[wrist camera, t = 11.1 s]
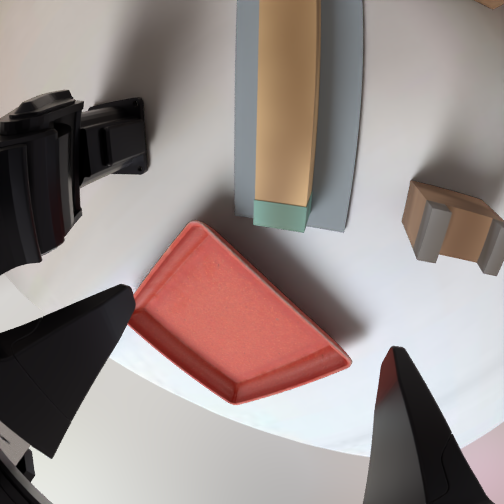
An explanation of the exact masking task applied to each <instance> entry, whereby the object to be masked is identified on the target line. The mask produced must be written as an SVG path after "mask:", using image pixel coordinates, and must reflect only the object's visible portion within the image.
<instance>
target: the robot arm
mask: <svg viewBox="0 0 504 504" xmlns="http://www.w3.org/2000/svg"><path fill="white" fill-rule="evenodd" d="M136 102H138V104H137V105H136ZM83 106H84V101H76V100H75V99H73V97H72V96H71V93H70V91H69V90H60V91H55V92H49V93H45V94H42V95H39V96H36V97H34V98H31V99H29V100H27V101H24V102H22V103H21V105H20V106H19V107H18V108H16V109H14V110H13V111H11V112H10V113H8V114H6V115H5V116H3V117H2V118H0V275H1V274H3V273H5V272H7V271H9V270H11V269H13V268H15V267H18V266H21V265H25V264H30V263H40V262H41V261H42V257H41V256H42V255H45V254H47V253H49V252H50V251H52V250H54V249H56V248H57V247H58V246H60V245H61V244H62V243H63V242H64V240H65V239H64V237H65V236H66V234H67V233H68V232H69V231H70V229H71V228H72V227H73V225H74V224H75V223H76V222H77V221H78V219H79V218H80V217H81V216H82V208H81V207H80V188H82V187H84V186H86V185H88V184H90V183H92V182H94V181H96V180H98V179H100V178H102V177H105V176H107V175H109V174H139V175H141V174H144V173H145V172H146V171H147V158H146V145H145V131H144V111H143V100H142V98H140V97H137V98H130V99H125V100H120V101H115V102H110V103H106V104H101V105H97V106H93V107H90V108H89V109H88V111H86V112H82V109H83ZM140 167H142V170H141V168H140ZM135 308H136V302H135V299H134V295H133V292H132V289H131V287H130V286H127V285H124V284H119V285H117V286H114V287H112V288H109V289H107V290H105V291H102V292H100V293H97V294H95V295H93V296H90V297H88V298H85V299H83V300H81V301H78V302H76V303H74V304H71V305H69V306H66V307H64V308H62V309H59V310H57V311H55V312H52V313H50V314H48V315H46V316H43V317H41V318H38V319H36V320H34V321H31V322H29V323H27V324H24V325H22V326H19V327H16V328H14V329H10V330H8V331H5V332H2V333H0V504H52V503H51V502H50V501H49V500H48V499H47V498H46V497H45V496H44V495H43V494H41V493H40V492H39V491H38V490H37V489H36V488H35V487H34V486H33V485H32V484H31V483H30V482H31V481H32V479H33V478H34V476H35V471H34V465H33V457H32V451H31V450H30V449H29V447H30V445H31V446H32V447H34V448H35V449H37V450H38V451H40V452H41V453H42V454H44V455H45V456H47V457H48V458H50V459H52V458H53V457H54V455H55V453H56V451H57V449H58V447H59V445H60V443H61V441H62V439H63V437H64V435H65V433H66V431H67V429H68V427H69V426H70V424H71V421H72V420H73V418H74V416H75V414H76V412H77V411H78V409H79V407H80V405H81V403H82V401H83V400H84V398H85V396H86V395H87V393H88V391H89V389H90V387H91V386H92V384H93V383H94V381H95V379H96V377H97V376H98V374H99V372H100V371H101V369H102V367H103V366H104V364H105V362H106V361H107V359H108V358H109V356H110V354H111V353H112V351H113V350H114V348H115V346H116V345H117V343H118V341H119V340H120V338H121V336H122V334H123V332H124V330H125V328H126V326H127V324H128V322H129V320H130V318H131V316H132V314H133V312H134V310H135ZM451 433H452V432H451V430H450V428H449V426H448V424H447V422H446V420H445V418H444V416H443V414H442V412H441V410H440V409H439V407H438V405H437V403H436V401H435V399H434V397H433V396H432V394H431V392H430V390H429V389H428V387H427V385H426V383H425V381H424V380H423V378H422V376H421V375H420V373H419V371H418V369H417V368H416V366H415V364H414V363H413V361H412V359H411V358H410V356H409V354H408V353H407V351H406V350H405V348H403V347H398V346H392V347H391V348H390V349H389V351H388V353H387V355H386V357H385V358H384V360H383V362H382V365H381V370H380V377H379V385H378V391H377V398H376V404H375V410H374V423H373V435H372V446H371V455H370V463H369V471H368V477H367V484H366V489H365V495H364V501H363V504H495V503H493V502H492V501H491V500H490V499H489V498H488V497H487V495H486V494H485V492H484V490H483V489H482V487H481V485H480V484H479V481H478V480H477V478H476V477H475V475H474V473H473V471H472V470H471V468H470V466H469V464H468V463H467V461H466V459H465V457H464V456H463V453H462V452H461V450H460V448H459V446H458V444H457V442H456V440H455V438H454V436H453V434H451Z"/></svg>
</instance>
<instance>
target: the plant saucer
mask: <svg viewBox="0 0 504 504" xmlns="http://www.w3.org/2000/svg"><path fill="white" fill-rule="evenodd" d="M134 299H135V302H136V308H135V310H134V312H133V314H132V316H131V318H130V320H129V322H128V324H127V325H128V326H130V327H131V328H132V329H133V330H134V331H135V332H136V333H137V334H139V335H140V336H141V337H142V338H143V339H144V340H145V341H147V342H148V343H149V344H150V345H151V346H152V347H154V348H155V349H156V350H157V351H159V352H160V353H161V354H162V355H163V356H165V357H166V358H167V359H169V360H170V361H171V362H172V363H173V364H175V365H176V366H177V367H179V368H180V369H181V370H183V371H184V372H185V373H186V374H188V375H189V376H191V377H192V378H193V379H195V380H196V381H198V382H199V383H200V384H202V385H203V386H204V387H206V388H207V389H209V390H210V391H211V392H213V393H214V394H216V395H217V396H219V397H220V398H222V399H223V400H225V401H226V402H228V403H230V404H233V405H240V404H243V403H247V402H251V401H254V400H258V399H261V398H265V397H269V396H271V395H275V394H278V393H282V392H284V391H287V390H291V389H294V388H296V387H299V386H302V385H305V384H308V383H310V382H314V381H316V380H318V379H321V378H324V377H327V376H329V375H331V374H334V373H337V372H339V371H342V370H344V369H346V368H348V367H350V366H351V364H352V360H351V358H350V357H349V356H348V355H347V353H346V352H345V351H344V350H343V349H342V348H341V347H340V346H339V345H338V344H337V343H336V342H335V341H334V340H333V339H332V338H331V337H330V336H329V335H328V334H327V333H326V332H325V331H323V330H322V329H321V328H320V327H319V326H318V325H317V324H316V323H315V322H314V321H312V320H311V319H310V318H309V317H308V316H307V315H306V314H305V313H304V312H303V311H302V310H300V309H299V308H298V307H297V306H296V305H295V304H294V303H293V302H292V301H291V300H290V299H288V298H287V297H286V296H285V295H284V294H283V293H282V292H281V291H280V290H279V289H278V288H277V287H275V286H274V285H273V284H272V283H271V282H270V281H269V280H268V279H267V278H266V277H265V276H264V275H263V274H262V273H260V272H259V271H258V270H257V269H256V268H255V267H254V266H253V265H252V264H251V263H250V262H249V261H248V260H247V259H245V258H244V257H243V256H242V255H241V254H240V253H239V252H238V251H237V250H236V249H235V248H234V247H233V246H232V245H231V244H229V243H228V242H227V241H226V240H225V239H224V238H223V237H222V236H221V235H220V234H219V233H217V232H216V231H215V230H214V229H213V228H211V227H210V226H208V225H207V224H205V223H203V222H201V221H198V220H192V221H191V222H189V223H188V224H187V225H186V226H185V228H184V229H183V230H182V231H181V233H180V234H179V235H178V236H177V238H176V239H175V240H174V241H173V242H172V244H171V245H170V246H169V248H168V249H167V250H166V251H165V253H164V254H163V255H162V257H161V258H160V259H159V261H158V262H157V263H156V264H155V266H154V267H153V268H152V269H151V271H150V273H149V274H148V275H147V276H146V278H145V279H144V281H143V282H142V283H141V285H140V286H139V287H138V289H137V290H136V292H135V293H134Z"/></svg>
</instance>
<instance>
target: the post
mask: <svg viewBox="0 0 504 504" xmlns="http://www.w3.org/2000/svg"><path fill="white" fill-rule="evenodd" d="M402 223H403V225H404V228H405V230H406V233H407V235H408V238H409V240H410V243H411V245H412V248H413V250H414V253H415V256H416V259H417V260H421V261H426V262H431V263H436V261H437V258H438V255H439V254H440V255H445V256H449V257H454V258H459V259H463V260H468V261H472V262H476V263H477V264H478V265H479V267H480V269H481V270H482V272H483V273H484V274H489V275H493V276H497V275H498V272H499V270H500V268H501V266H502V263H503V261H504V220H503V219H502V218H501V217H500V216H499V215H498V214H497V213H496V212H494V211H493V210H492V209H491V208H490V207H489V206H488V205H487V204H486V203H485V202H483V201H482V200H481V199H478V198H475V197H471V196H468V195H465V194H461V193H458V192H455V191H451V190H448V189H444V188H440V187H436V186H433V185H429V184H425V183H421V182H417V181H412V180H411V181H410V186H409V191H408V196H407V200H406V205H405V209H404V213H403V218H402Z"/></svg>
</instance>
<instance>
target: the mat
mask: <svg viewBox="0 0 504 504" xmlns="http://www.w3.org/2000/svg"><path fill="white" fill-rule="evenodd" d="M258 45H259V0H237V18H236V58H235V147H234V182H235V216H242V217H249V218H253V217H254V199H255V178H256V135H257V91H258ZM362 70H363V8H362V0H321V56H320V86H319V106H318V123H317V137H316V150H315V162H314V174H313V184H312V191H313V192H312V202H311V211H310V216H309V219H308V222H307V225H306V226H308V227H314V228H320V229H326V230H331V231H337V232H343V233H344V230H345V224H346V218H347V213H348V207H349V200H350V194H351V187H352V180H353V173H354V166H355V158H356V149H357V140H358V130H359V119H360V106H361V91H362Z"/></svg>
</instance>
